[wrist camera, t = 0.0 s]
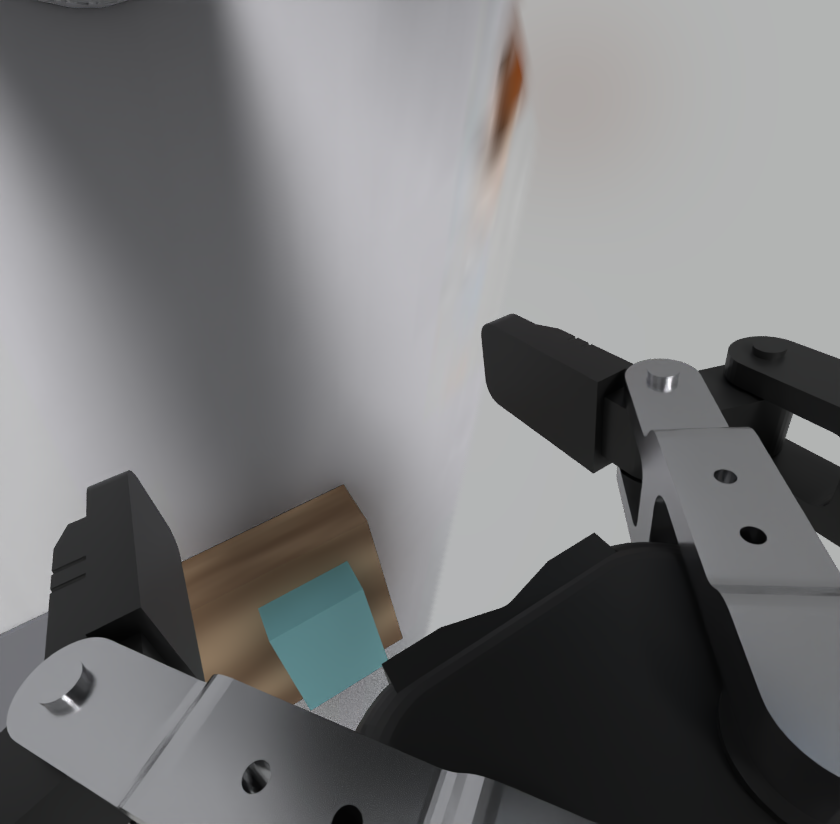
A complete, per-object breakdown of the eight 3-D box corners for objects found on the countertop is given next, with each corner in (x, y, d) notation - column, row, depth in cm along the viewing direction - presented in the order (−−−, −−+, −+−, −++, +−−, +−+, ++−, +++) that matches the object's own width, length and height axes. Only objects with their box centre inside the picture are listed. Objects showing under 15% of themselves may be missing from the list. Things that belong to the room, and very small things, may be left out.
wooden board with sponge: (131, 586, 31) (136, 639, 28) (343, 484, 36) (367, 521, 33) (218, 694, 40) (229, 743, 37) (380, 600, 44) (402, 638, 41)
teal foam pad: (258, 608, 32) (269, 641, 30) (347, 560, 33) (362, 588, 32) (299, 679, 37) (310, 710, 35) (374, 634, 39) (388, 662, 37)
